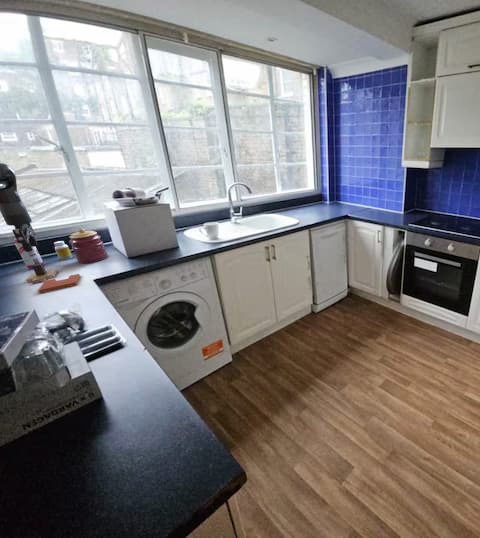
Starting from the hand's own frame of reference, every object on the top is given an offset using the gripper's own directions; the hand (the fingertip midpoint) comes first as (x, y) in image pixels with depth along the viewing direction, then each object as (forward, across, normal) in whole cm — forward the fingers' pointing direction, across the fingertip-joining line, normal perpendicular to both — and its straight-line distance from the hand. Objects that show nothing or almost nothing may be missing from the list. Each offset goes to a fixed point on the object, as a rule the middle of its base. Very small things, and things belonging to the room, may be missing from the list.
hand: (32, 248), depth 132 cm
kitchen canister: (+16, -23, +15) cm, 32 cm away
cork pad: (+16, -6, -3) cm, 17 cm away
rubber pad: (+16, +10, +6) cm, 20 cm away
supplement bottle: (+16, -36, +1) cm, 39 cm away
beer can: (+16, -29, -10) cm, 34 cm away
